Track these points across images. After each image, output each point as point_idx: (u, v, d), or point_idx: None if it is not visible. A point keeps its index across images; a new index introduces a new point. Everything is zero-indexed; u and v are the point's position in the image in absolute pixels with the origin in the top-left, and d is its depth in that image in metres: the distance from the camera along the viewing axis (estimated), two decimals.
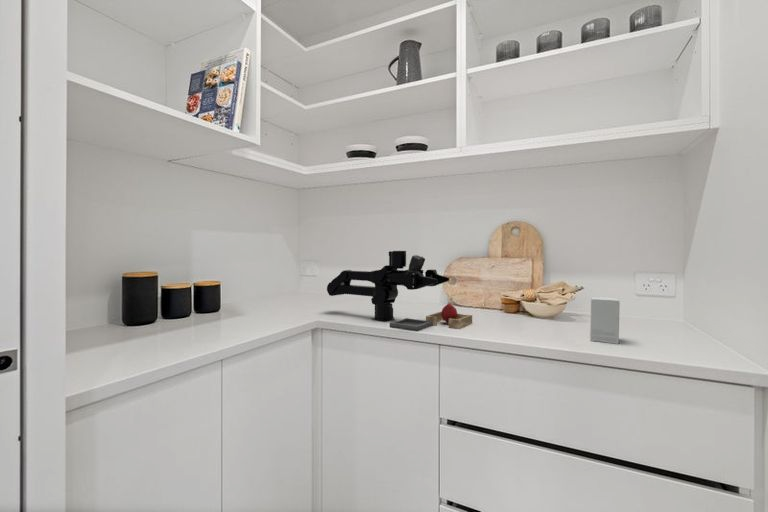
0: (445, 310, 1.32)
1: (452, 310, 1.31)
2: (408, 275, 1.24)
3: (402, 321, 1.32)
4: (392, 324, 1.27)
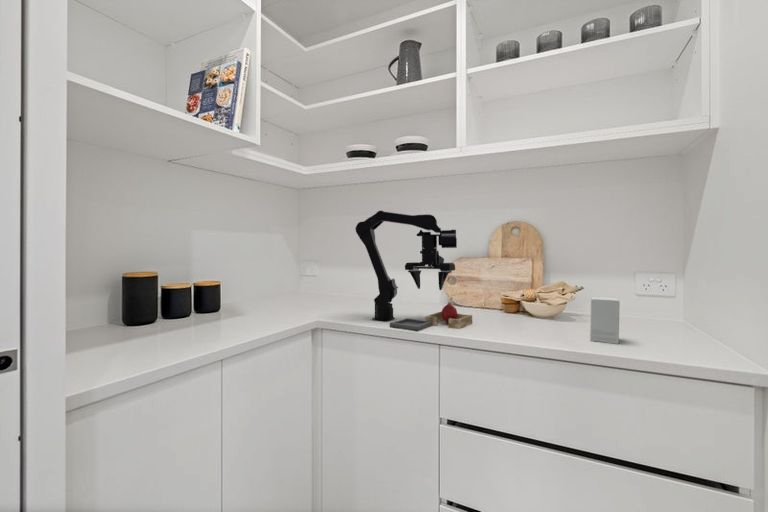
0: (445, 310, 1.32)
1: (452, 310, 1.31)
2: (454, 266, 1.34)
3: (402, 321, 1.32)
4: (392, 324, 1.27)
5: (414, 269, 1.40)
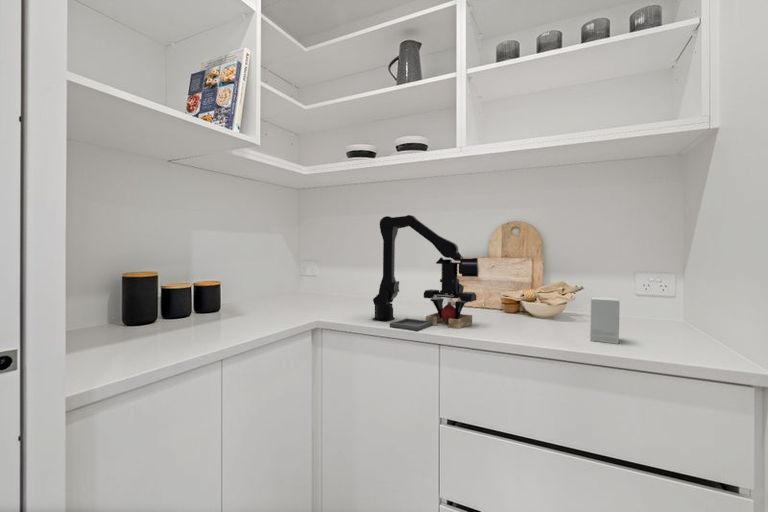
0: (445, 310, 1.32)
1: (452, 310, 1.31)
2: (475, 296, 1.30)
3: (402, 321, 1.32)
4: (392, 324, 1.27)
5: (437, 298, 1.34)
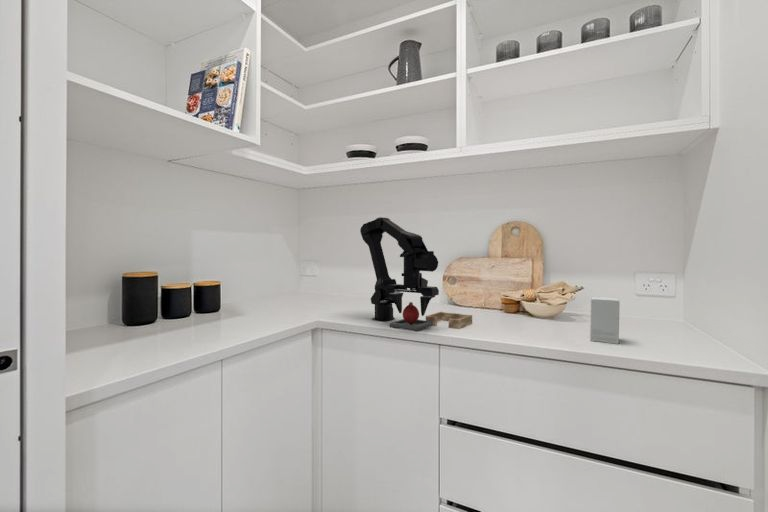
0: (406, 310, 1.27)
1: (413, 310, 1.27)
2: (437, 291, 1.25)
3: (402, 321, 1.32)
4: (392, 324, 1.27)
5: (395, 292, 1.30)
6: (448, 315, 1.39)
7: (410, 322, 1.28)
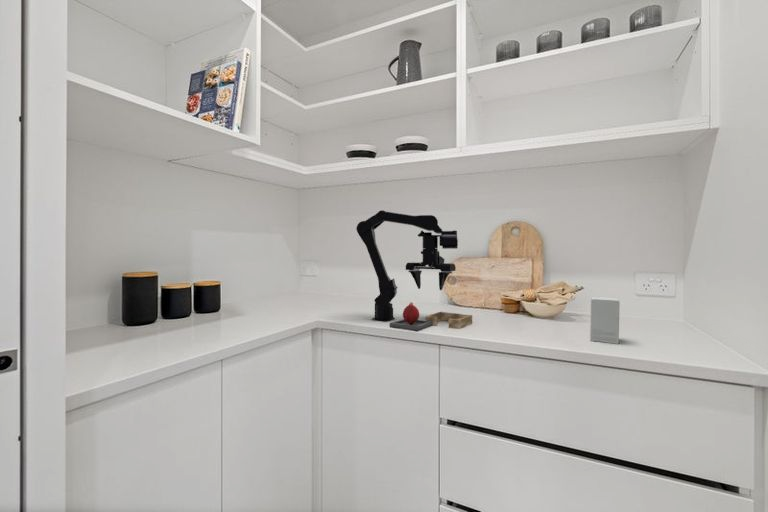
0: (406, 311, 1.27)
1: (414, 310, 1.27)
2: (454, 267, 1.35)
3: (402, 321, 1.32)
4: (392, 324, 1.27)
5: (415, 269, 1.41)
6: (448, 315, 1.39)
7: (410, 322, 1.27)
